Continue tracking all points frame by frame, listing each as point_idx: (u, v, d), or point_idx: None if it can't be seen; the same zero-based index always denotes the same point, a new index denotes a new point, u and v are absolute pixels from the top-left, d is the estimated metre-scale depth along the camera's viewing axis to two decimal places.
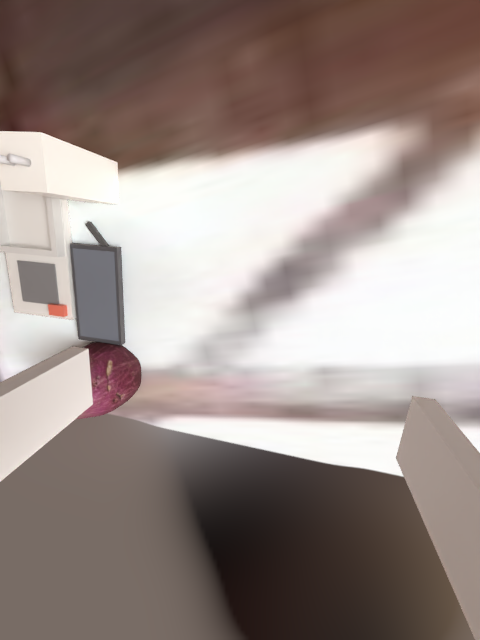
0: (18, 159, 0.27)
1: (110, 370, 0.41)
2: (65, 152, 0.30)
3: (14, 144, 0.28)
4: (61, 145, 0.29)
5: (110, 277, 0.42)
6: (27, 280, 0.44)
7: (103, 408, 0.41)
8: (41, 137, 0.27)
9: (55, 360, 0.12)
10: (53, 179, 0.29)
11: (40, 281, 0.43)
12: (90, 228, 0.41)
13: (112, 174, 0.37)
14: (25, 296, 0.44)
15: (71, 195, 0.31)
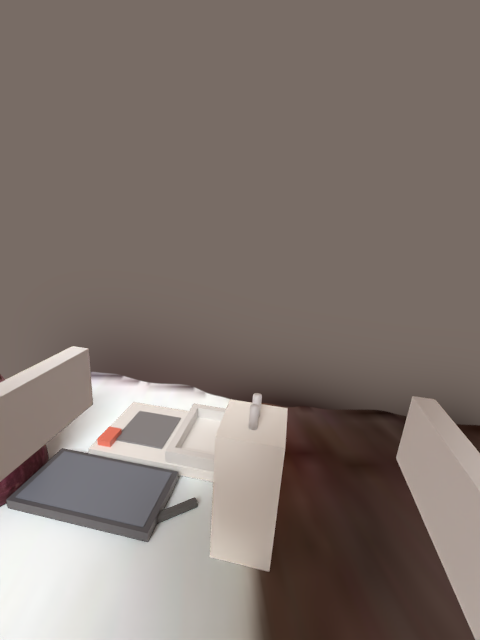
0: (253, 414, 0.22)
1: None
2: (267, 478, 0.22)
3: (273, 421, 0.24)
4: (275, 475, 0.22)
5: (110, 511, 0.27)
6: (157, 420, 0.40)
7: None
8: (279, 447, 0.21)
9: (54, 360, 0.12)
10: (231, 450, 0.22)
11: (150, 430, 0.38)
12: (188, 502, 0.29)
13: (250, 555, 0.24)
14: (142, 414, 0.41)
15: (215, 472, 0.22)
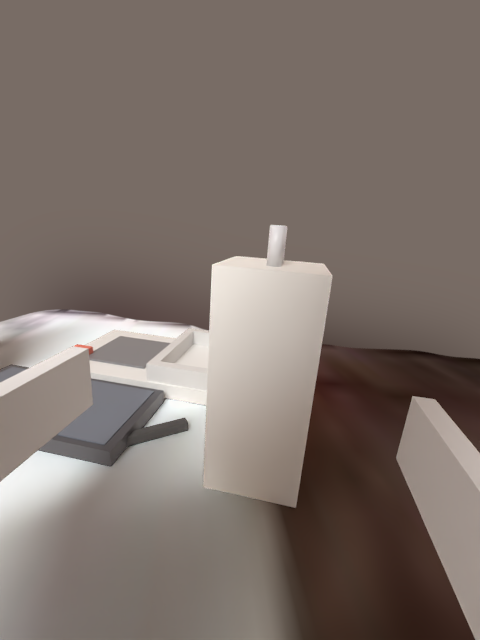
0: (275, 237, 0.13)
1: None
2: (298, 340, 0.13)
3: (305, 266, 0.15)
4: (312, 331, 0.13)
5: None
6: (141, 344, 0.31)
7: None
8: (322, 275, 0.12)
9: (54, 360, 0.12)
10: (239, 290, 0.13)
11: (131, 351, 0.29)
12: (174, 422, 0.20)
13: (266, 481, 0.15)
14: (123, 338, 0.32)
15: (211, 335, 0.14)
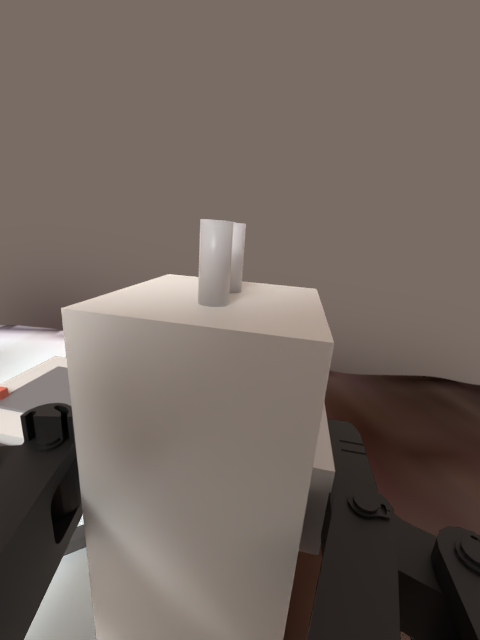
0: (209, 245, 0.06)
1: None
2: (258, 473, 0.06)
3: (280, 299, 0.08)
4: (288, 459, 0.06)
5: None
6: None
7: None
8: (308, 341, 0.05)
9: None
10: (124, 365, 0.06)
11: (62, 392, 0.22)
12: None
13: None
14: (61, 370, 0.25)
15: (80, 450, 0.07)
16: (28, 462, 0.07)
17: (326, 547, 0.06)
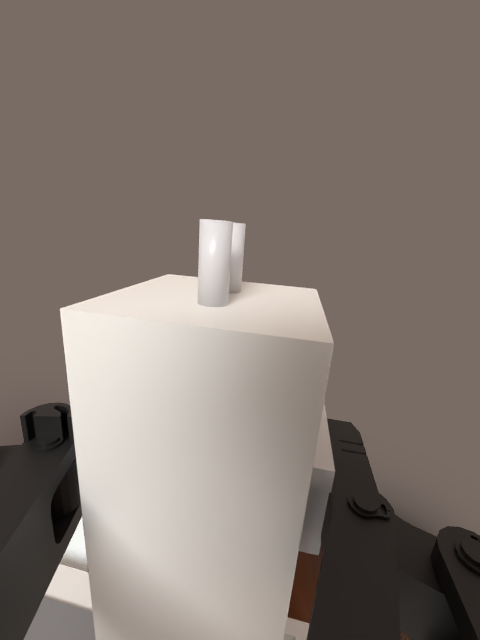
0: (209, 245, 0.06)
1: None
2: (258, 475, 0.06)
3: (279, 299, 0.08)
4: (288, 460, 0.06)
5: None
6: (70, 636, 0.17)
7: None
8: (308, 341, 0.05)
9: None
10: (124, 366, 0.06)
11: None
12: None
13: None
14: (44, 609, 0.19)
15: (79, 451, 0.07)
16: (28, 462, 0.07)
17: (326, 547, 0.06)
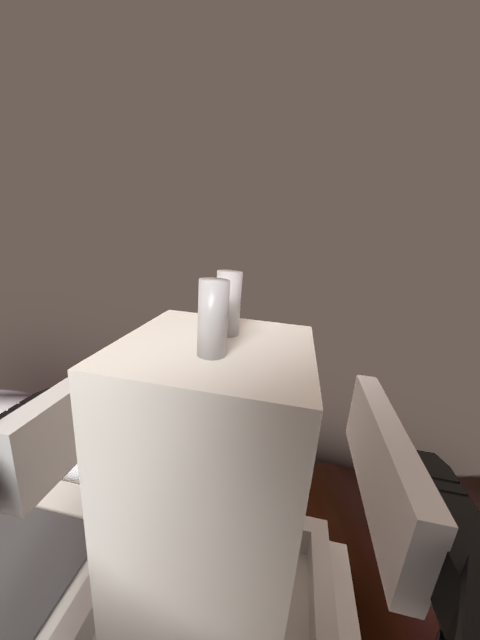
0: (207, 305, 0.07)
1: None
2: (254, 524, 0.06)
3: (275, 345, 0.08)
4: (282, 511, 0.06)
5: None
6: (38, 537, 0.14)
7: None
8: (299, 408, 0.05)
9: None
10: (127, 422, 0.06)
11: None
12: None
13: None
14: None
15: (85, 496, 0.07)
16: None
17: (465, 620, 0.05)
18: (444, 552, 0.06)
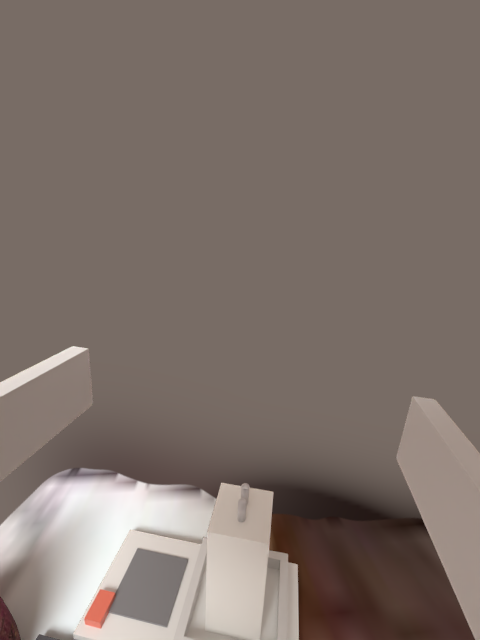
0: (240, 510, 0.25)
1: None
2: (254, 568, 0.24)
3: (260, 509, 0.26)
4: (261, 565, 0.24)
5: None
6: (159, 566, 0.32)
7: None
8: (264, 543, 0.23)
9: (55, 360, 0.12)
10: (222, 544, 0.24)
11: (151, 588, 0.30)
12: None
13: (241, 630, 0.27)
14: (141, 554, 0.33)
15: (208, 561, 0.25)
16: None
17: None
18: None
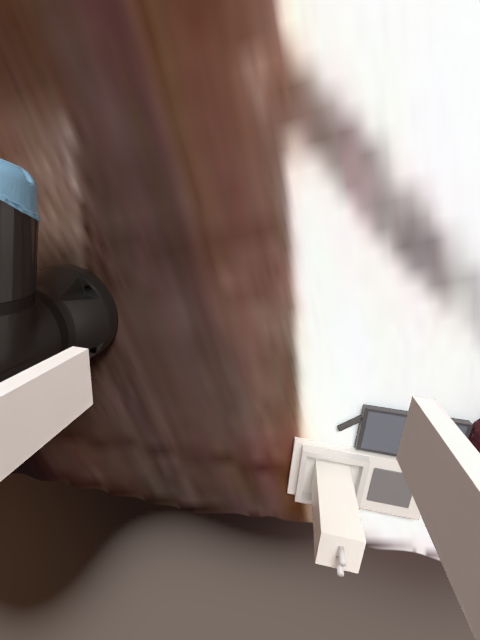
0: (343, 557, 0.34)
1: None
2: (327, 512, 0.38)
3: (326, 552, 0.36)
4: (323, 514, 0.37)
5: (394, 419, 0.43)
6: (387, 497, 0.46)
7: None
8: (324, 532, 0.35)
9: (55, 360, 0.12)
10: (353, 531, 0.35)
11: (390, 485, 0.45)
12: (343, 427, 0.45)
13: (327, 467, 0.45)
14: (403, 504, 0.45)
15: (359, 517, 0.37)
16: None
17: None
18: None
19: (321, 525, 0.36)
